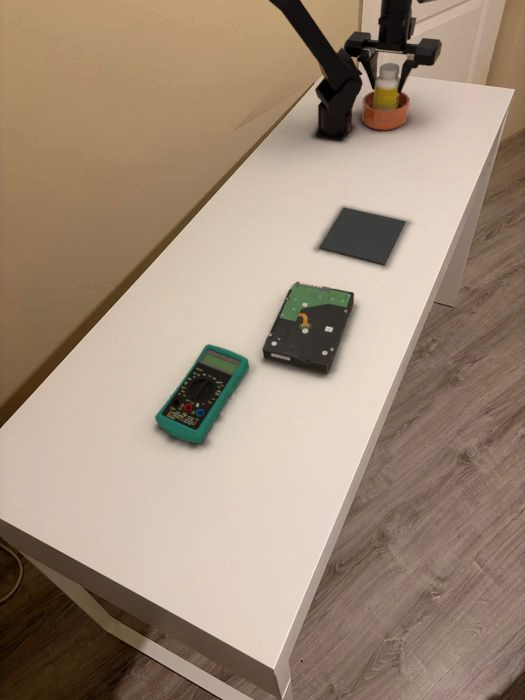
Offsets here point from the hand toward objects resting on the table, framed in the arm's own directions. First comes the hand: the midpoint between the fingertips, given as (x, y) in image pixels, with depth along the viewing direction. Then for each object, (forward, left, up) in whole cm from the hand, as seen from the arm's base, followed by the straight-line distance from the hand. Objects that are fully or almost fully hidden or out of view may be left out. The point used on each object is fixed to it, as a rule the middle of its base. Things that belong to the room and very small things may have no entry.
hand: (387, 90), depth 107 cm
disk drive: (+9, -63, -7) cm, 64 cm away
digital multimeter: (0, -80, -7) cm, 80 cm away
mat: (+9, -39, -6) cm, 41 cm away
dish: (0, 0, -6) cm, 6 cm away
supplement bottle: (0, 0, -5) cm, 5 cm away
